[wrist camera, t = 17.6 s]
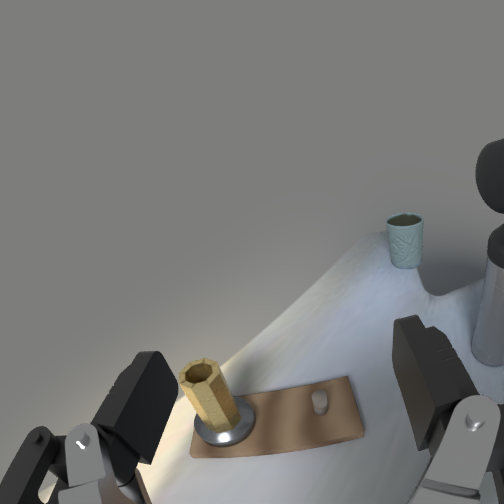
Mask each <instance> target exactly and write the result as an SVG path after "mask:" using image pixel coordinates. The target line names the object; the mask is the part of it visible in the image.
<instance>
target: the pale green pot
mask: <svg viewBox="0 0 504 504" xmlns="http://www.w3.org/2000/svg"><path fill="white" fill-rule="evenodd" d="M386 226H387V232H388V234H389V235H388V238H389V243H390V244H389V245H390V252H391V260H392V264H393V265H394V266H395V267H397V268H401V269H412V268H415V267H417V266H419V265H420V264H421V261H422V247H423V246H422V244H423V217H422V216H421V215H418V214H414V213H399V214H395V215H392V216H390V217H388V218H387V219H386Z"/></svg>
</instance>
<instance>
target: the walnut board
mask: <svg viewBox="0 0 504 504" xmlns="http://www.w3.org/2000/svg"><path fill="white" fill-rule="evenodd" d="M237 397H240V398H243V399H244V400H246V401H247V402H248V403H249V404H250V405H251V407H252V409H253V411H254V414H255V417H256V424H255V427H254V430H253V431H252V433H251V434H250V435H249V436H248V437H247V438H246V439H245V440H244V441H242V442H241V443H239V444H237V445H234V446H230V447H224V448H220V447H214V446H211V445H208V444H207V443H205V442H204V441H203V440H202V439H201V438H200V436H199V435H198V434H197V432H196V430H195V427H194V432H193V437H192V442H191V447H190V452H189V454H190V455H191V456H192V457H193V458H231V457H248V456H260V455H270V454H278V453H286V452H293V451H299V450H305V449H311V448H317V447H322V446H327V445H331V444H336V443H340V442H345V441H349V440H353V439H357V438H361V437H364V430H363V426H362V423H361V419H360V416H359V412H358V409H357V405H356V402H355V399H354V395H353V392H352V389H351V385H350V382H349V379H348V376H346V377H342V378H338V379H333V380H329V381H325V382H320V383H315V384H311V385H306V386H300V387H295V388H290V389H284V390H278V391H272V392H265V393H258V394H251V395H243V396H237Z"/></svg>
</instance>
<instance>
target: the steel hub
mask: <svg viewBox="0 0 504 504" xmlns="http://www.w3.org/2000/svg"><path fill="white" fill-rule="evenodd" d="M233 398H234V400H235V402H236V404H237V406H238V408H239V411H240V415H241V420H240V421H239V423H238V424H237V425H236V427H235V428H234V429H233V430H230V431H226V432H222V433H216V432H214V431H212V430H210V429H208V428H207V427H206V426H205V424H204V423H203V421H202V420H201V418H200V417H199V415H198V414H196V416H195V419H194V427H195V430H196V432H197V434H198V435H199V436H200V438H201V439H202V440H203V441H204V442H205V443H207V444H208V445H211V446H214V447H220V448H224V447H230V446H234V445H237V444H239V443H241V442H242V441H244V440H245V439H246V438H247V437H248V436H249V435H250V434H251V433H252V431H253V430H254V427H255V424H256V417H255V414H254V411H253V409H252V407H251V405H250V404H249V403H248V402H247V401H246V400H244V399H243V398H240V397H237V396H233Z"/></svg>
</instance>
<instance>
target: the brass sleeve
mask: <svg viewBox="0 0 504 504" xmlns="http://www.w3.org/2000/svg"><path fill="white" fill-rule="evenodd" d="M179 384H180V386H181V388H182V389H183V391H184V393H185V394H186V396H187V398H188V399H189V401H190V402H191V404H192V406H193V407H194V409H195V410H196V412H197V414H198V415H199V417H200V418H201V420H202V421H203V423H204V424H205V426H206V427H207V428H208V429H210V430H212V431H214V432H216V433H222V432H226V431H230V430H233V429H234V428H235V427H236V425H237V424H238V423H239V421H240V420H241V415H240V411H239V408H238V406H237V404H236V402H235V400H234V398H233V396H232V393H231V391H230V389H229V387H228V385H227V383H226V380H225V378H224V376H223V374H222V372H221V369H220V367H219V365H218V363H217V362H216V361H212V360H209V359H206V358H203V359H200V360H196V361H193V362H190V363H188V365H186V367H184V368H183V369H182V370H181V371H180V372H179Z"/></svg>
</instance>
